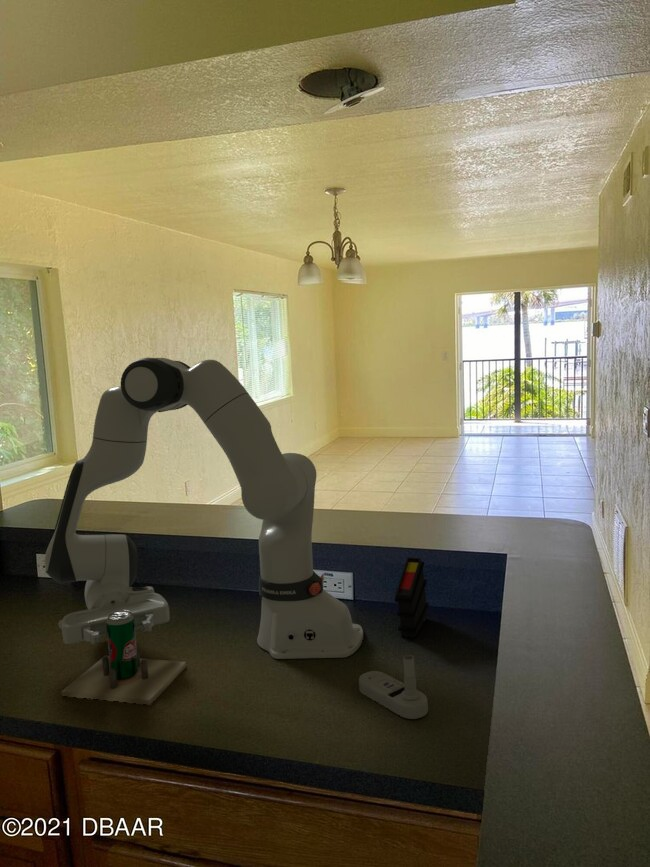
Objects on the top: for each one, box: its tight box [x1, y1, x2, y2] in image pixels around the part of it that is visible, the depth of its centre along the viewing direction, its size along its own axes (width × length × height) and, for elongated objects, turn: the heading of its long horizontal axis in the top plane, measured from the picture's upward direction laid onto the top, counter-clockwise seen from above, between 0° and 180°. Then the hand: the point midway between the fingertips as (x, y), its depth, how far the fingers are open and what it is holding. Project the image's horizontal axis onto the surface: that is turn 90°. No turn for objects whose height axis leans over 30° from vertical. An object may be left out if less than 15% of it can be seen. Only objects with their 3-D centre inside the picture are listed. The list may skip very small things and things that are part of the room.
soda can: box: [106, 610, 139, 680], centre depth 123 cm, size 5×5×12 cm
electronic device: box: [358, 654, 429, 720], centre depth 112 cm, size 5×10×15 cm
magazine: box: [394, 557, 430, 638], centre depth 139 cm, size 4×13×15 cm, turn 157°
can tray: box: [61, 647, 187, 706], centre depth 123 cm, size 18×14×5 cm
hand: (122, 634), depth 122 cm, fingers open, 8 cm apart
